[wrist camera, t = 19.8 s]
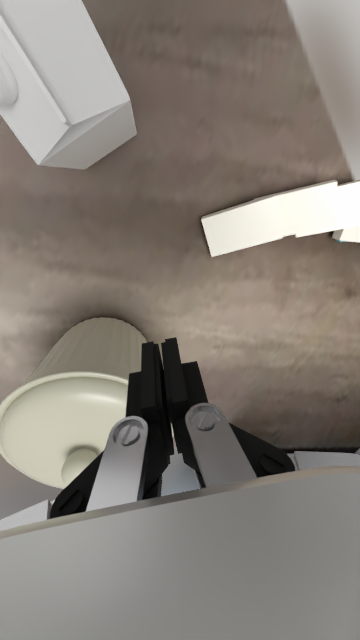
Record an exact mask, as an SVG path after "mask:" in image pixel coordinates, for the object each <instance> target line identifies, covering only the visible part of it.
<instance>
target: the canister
mask: <svg viewBox="0 0 360 640" xmlns="http://www.w3.org/2000/svg"><path fill="white" fill-rule="evenodd" d="M142 343H147V341H146V339H145V337H144V336H143V335H142V334H141V332H140V331H138V330H137V329H136V328H135V327H134V326H131V325H130V324H129V323H126V322H124V321H123V320H118V319H116V318H109V317H107V318H103V317H100V318H92V319H90V320H85V321H84V322H80V323H78V324H77V325H76V326H73V327H72V328H71V329H70V330H69V331H67V332H66V333H65V334H64V335H63V336H62V337H61V339H60V340H59V341H58V342H57V343H56V344H55V346H54V347H53V348H52V349H51V350H50V352H49V353H48V354H47V355H46V357H45V358H44V359H43V361H42V362H41V363H40V364H39V366H38V367H37V368H36V370H35V371H34V372H33V373H32V375H31V376H30V377H29V378H28V380H27V381H26V382H25V384H23V385H21V386H19V387H18V388H16V389H15V390H14V391H12V392H11V393H10V394H9V395H8V396H7V397H6V398H5V399H4V400H3V401H2V402H1V404H0V454H1V455H2V456H3V457H4V459H5V460H6V461H7V462H8V463H9V464H11V465H12V466H13V467H15V468H16V469H17V470H19V471H20V472H22V473H24V474H25V475H27V476H28V477H30V478H32V479H34V480H36V481H39V482H41V483H43V484H46V485H49V486H53V487H58V488H63V489H65V488H66V487H67V486H68V485H69V484H70V483H71V482H72V481H73V480H74V479H75V478H76V477H77V476H78V475H79V474H80V473H81V472H82V471H83V470H84V469H85V468H86V467H87V466H88V465H89V464H90V463H91V462H92V461H93V460H94V459H95V458H96V457H97V456H98V455H99V454H100V453H101V452H102V451H104V449H105V446H106V443H107V440H108V436H109V433H110V431H111V429H112V427H113V426H114V425H115V424H116V423H117V422H118V421H120V420H121V419H123V418H125V415H126V404H127V392H128V380H129V374H130V373H134V372H139V371H141V350H142ZM171 426H172V424H171ZM172 436H174V433H173V428H172Z"/></svg>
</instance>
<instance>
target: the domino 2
mask: <svg viewBox="0 0 360 640" xmlns="http://www.w3.org/2000/svg"><path fill="white" fill-rule="evenodd" d="M276 194H277V196H278V204H279V211H280V219H281V227H282V235H283V236H289V235H294V234H300V233H305V232H311V231H316V230H322V229H327V228H333V227H336V205H337V181H336V180H330V181H326V182H322V183H318V184H314V185H309V186H305V187H301V188H297V189H293V190H288V191H284V192H280V193H276ZM267 196H268V195H267ZM263 197H265V196H263ZM259 198H262V197H259ZM259 198H255V199H259ZM255 199H254V200H255Z"/></svg>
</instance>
